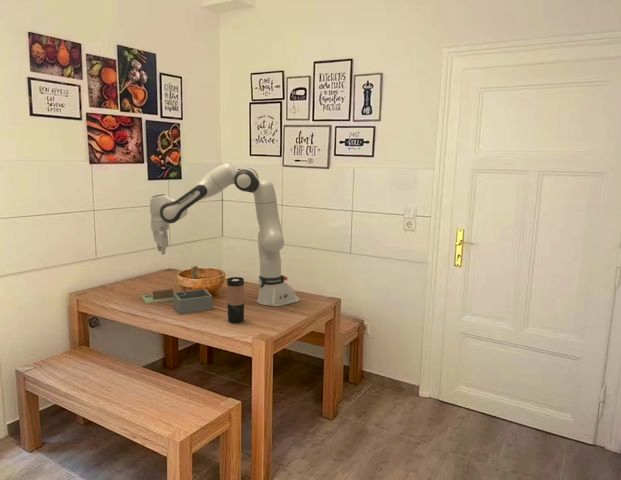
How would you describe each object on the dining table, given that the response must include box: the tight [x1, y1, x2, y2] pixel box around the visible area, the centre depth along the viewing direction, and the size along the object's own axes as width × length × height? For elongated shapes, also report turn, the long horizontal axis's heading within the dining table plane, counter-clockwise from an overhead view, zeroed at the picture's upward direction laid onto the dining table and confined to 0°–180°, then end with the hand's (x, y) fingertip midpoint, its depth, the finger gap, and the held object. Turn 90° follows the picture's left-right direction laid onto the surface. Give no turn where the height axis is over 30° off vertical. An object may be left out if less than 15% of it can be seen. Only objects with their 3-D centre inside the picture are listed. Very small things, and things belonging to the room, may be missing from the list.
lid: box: [141, 288, 174, 305], centre depth 246 cm, size 16×14×6 cm
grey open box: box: [172, 288, 214, 315], centre depth 231 cm, size 16×14×8 cm
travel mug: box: [226, 276, 245, 324], centre depth 216 cm, size 8×8×20 cm
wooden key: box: [190, 265, 200, 280], centre depth 249 cm, size 3×3×18 cm
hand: (161, 252), depth 242 cm, fingers open, 8 cm apart
